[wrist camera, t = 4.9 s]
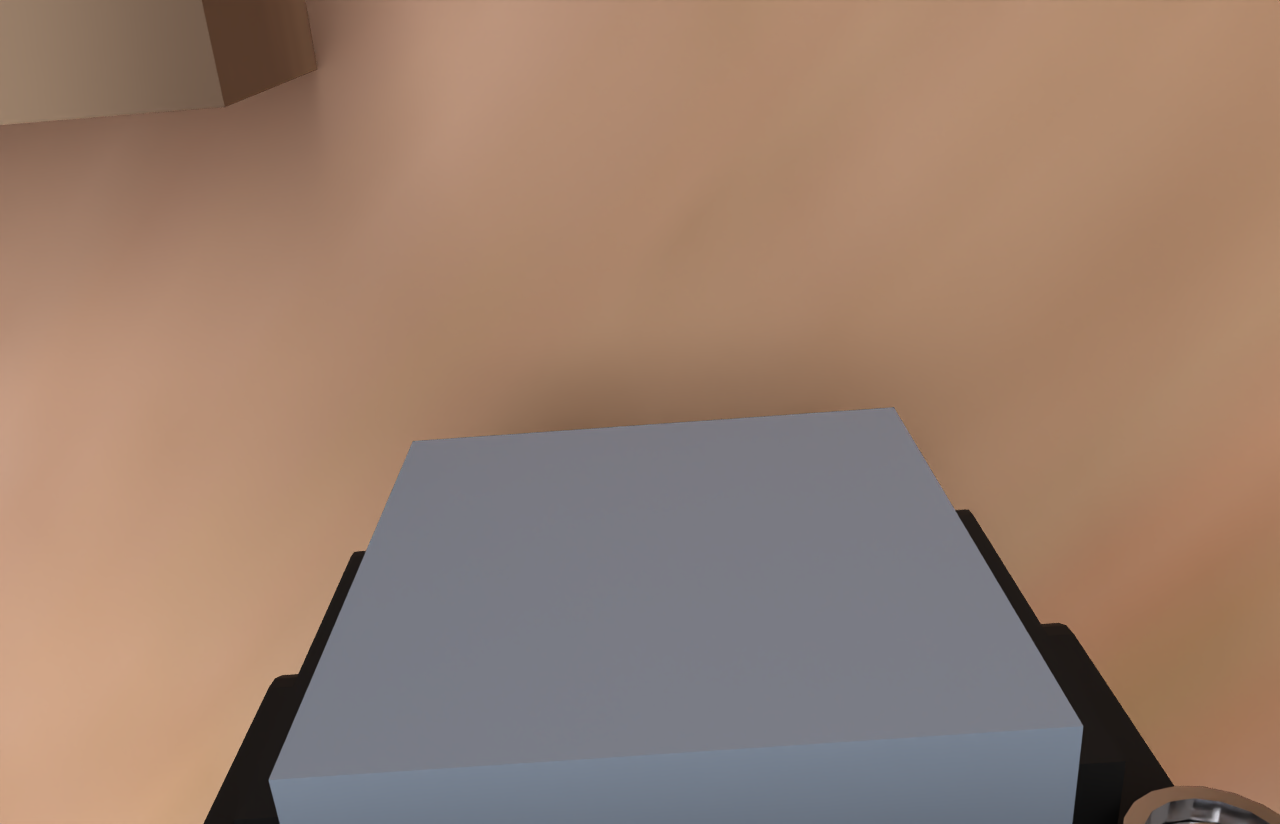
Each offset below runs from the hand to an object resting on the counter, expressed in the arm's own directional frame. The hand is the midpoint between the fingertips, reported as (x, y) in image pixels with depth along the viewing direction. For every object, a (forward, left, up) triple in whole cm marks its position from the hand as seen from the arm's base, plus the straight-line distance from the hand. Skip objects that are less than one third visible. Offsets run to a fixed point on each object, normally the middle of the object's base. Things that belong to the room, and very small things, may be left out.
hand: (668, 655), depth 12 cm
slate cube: (0, 0, -1) cm, 1 cm away
